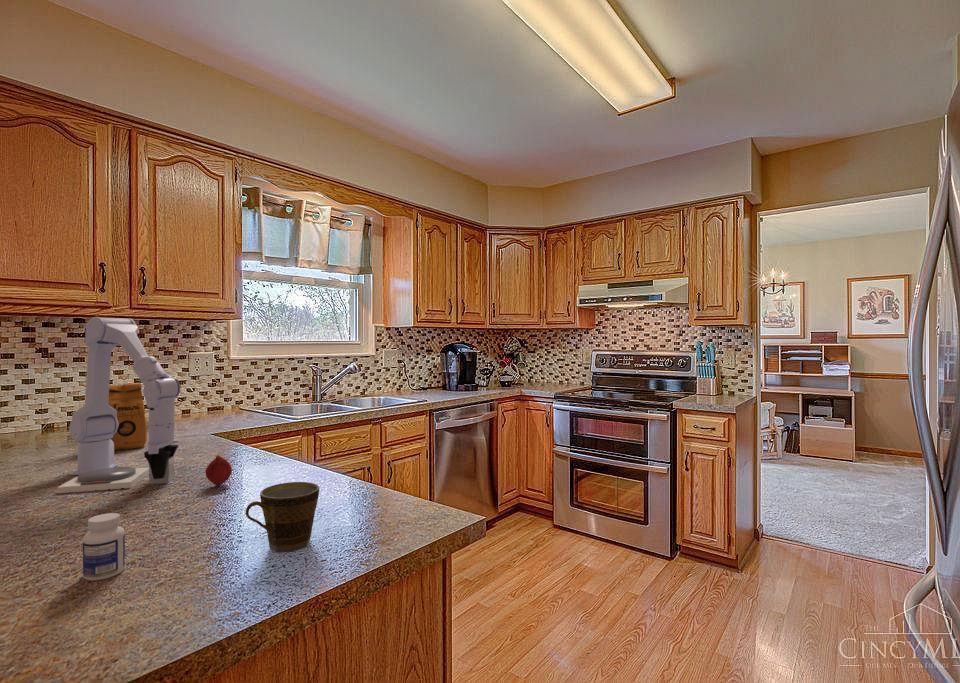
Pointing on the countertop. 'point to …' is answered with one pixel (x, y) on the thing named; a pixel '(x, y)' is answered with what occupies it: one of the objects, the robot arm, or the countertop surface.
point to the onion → (218, 470)
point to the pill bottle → (103, 547)
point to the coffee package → (128, 416)
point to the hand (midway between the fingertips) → (161, 475)
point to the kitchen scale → (104, 479)
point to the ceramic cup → (288, 514)
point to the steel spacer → (168, 473)
